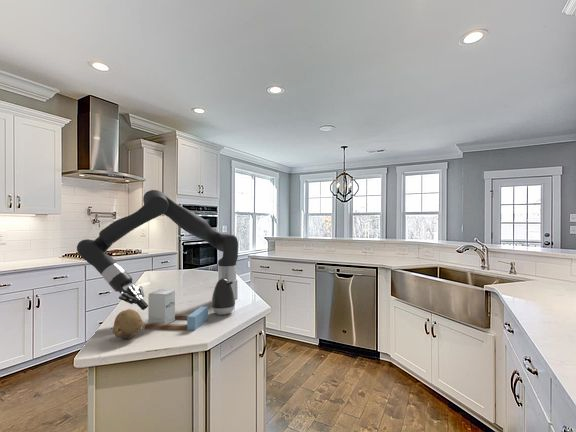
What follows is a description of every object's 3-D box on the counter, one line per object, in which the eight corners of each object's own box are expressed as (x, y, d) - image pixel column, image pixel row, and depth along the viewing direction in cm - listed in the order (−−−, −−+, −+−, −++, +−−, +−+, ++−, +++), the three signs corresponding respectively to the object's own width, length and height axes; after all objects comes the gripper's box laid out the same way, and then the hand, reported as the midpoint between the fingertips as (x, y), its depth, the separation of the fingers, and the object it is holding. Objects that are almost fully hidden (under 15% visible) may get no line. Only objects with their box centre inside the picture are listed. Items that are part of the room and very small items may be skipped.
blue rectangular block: (187, 329, 114) (187, 316, 114) (201, 318, 127) (200, 306, 127) (195, 330, 113) (195, 316, 113) (208, 318, 126) (207, 306, 126)
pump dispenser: (224, 318, 126) (223, 281, 126) (206, 314, 132) (206, 279, 132) (240, 312, 135) (240, 277, 135) (223, 308, 140) (222, 275, 141)
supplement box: (164, 326, 117) (164, 294, 117) (147, 325, 119) (147, 293, 119) (175, 320, 124) (175, 289, 125) (159, 319, 126) (159, 288, 126)
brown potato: (147, 333, 110) (147, 306, 110) (134, 343, 101) (134, 313, 102) (123, 333, 111) (123, 306, 111) (107, 343, 102) (107, 313, 102)
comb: (144, 328, 115) (144, 324, 115) (162, 317, 128) (162, 313, 128) (187, 329, 114) (187, 325, 114) (201, 318, 127) (201, 314, 127)
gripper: (121, 280, 131) (148, 309, 129) (99, 287, 117) (129, 320, 116) (133, 268, 130) (160, 297, 129) (111, 273, 117) (142, 306, 115)
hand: (145, 308), depth 122 cm, fingers closed
